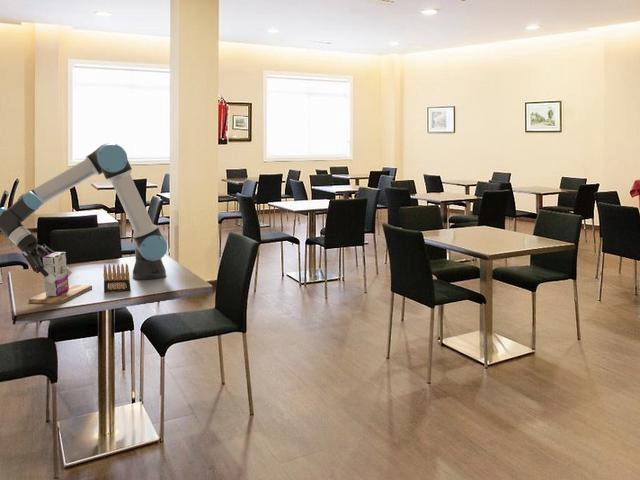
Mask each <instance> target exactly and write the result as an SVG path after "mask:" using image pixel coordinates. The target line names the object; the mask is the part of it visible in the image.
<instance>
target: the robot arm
mask: <svg viewBox="0 0 640 480" xmlns="http://www.w3.org/2000/svg"><path fill="white" fill-rule="evenodd" d="M132 169H133V168H132V166H131V165H130V161H129V160H128V155H127V152H126V150H125V149H124V148H123V147H122V146H121V145H119V144H117V143H110V142H109V143H104V144H102V145H100V146H99V147H98V148H97V149H95V150H94V151H93V152H91V153H90V154H88V155H86V156H85V159H84V160H82V161H81V162H80V161H79V163H76V164H75V165H73V166H72V167H70V168H69V169H66V170H64V171H63V172H61V173H60V174H58V175H55V176H54V177H52V178H50V179H49V180H47V181H45V182H43V183H42V184H39V185H38V186H37V187H34V188H33V189H31V190H29V191H28V192H26V193H22V194H21V195H20V196H19V197H18V199H17V201H15V202H14V203H13V204H12V205H11V206H10V207H9V208H6V207H3V206H2V207H0V231H1V232H2V234H4V235H5V236H6V237H7V238H8V239H9V240H10V241H11V242H12V243H13V244H14V245H15V246H16V247H17V248H18V249H19V250H20V251H21V252H22V253H21V255H22V256H23V257H24V259H25V260H26V261H27V262H28V264H29V266H30V267H31V269H32V270H33V272H35V273H37V274H39V273H40V274H41V275H42V276H43V277H44V276H45V277H46V278H47V279H48V280H49V281H50V282H51V283H54V281H55V280H56V279H57V278H56V277H55V276H54V275H53V274H52V273H51V272H50V271H49V270H48V269H47V268H46V267H44V268H43V261H42V259H41V258H42V257H44V256H47V255H49V254H52V253H54V252H55V251H54V249H51V248H50V247H48V246H47V245H46V244H45V243H43V244H42V245H40V244H39V239H38V238H37V237H36V236H34V234H32V233H31V231H30V230H29V229H28V228H26V227H25V225H24V224H23V222H25V220H27V219H28V218H29V217H31V216H32V215H33V214H34V213H35V212H37V210H39V208H40V207H42V206H43V205H44V204H46V203H48V202H50V201H51V200H53V199H55V198H57V197H58V196H60V195H62V194H64V193H66V192H68V190H70V189H72V188H75V186H76V187H77V186H78V185H80V184H82V183H83V182H84V181H86V180H88V179H90V178H92V177H94V176H95V175H97V176H100V175H101V174H103V175H104V178H105V180H107V181H109V182H111V185H112V186H113V189H114V191H115V193H116V195H117V197H118V199H119V201H120V204H121V206H122V207H123V211H124V212H125V214H126V216H127V217H126V218H128V221H129V223H130V225H131V227H132V230H133V234H132V238H133V240H134V251H135V252H134V253H135V254H134V255H135V261H134V262H135V263H134V267H133V269H132V278H133V279H136V280H155V279H161V278H164V277H166V275H167V270H166V267H165V266H164V264H163V263H164V262H163V260H162V259H163V257H165V255H166V254H167V251H168V242H167V241H166V239H165V238H164V237H163V235H162V232H161V230H160V227H159V226H158V225H157V224H154V223H153V221H152V218H151V217H150V214H149V213H148V211H147V208H146V206H145V204H144V201H143V199H142V197H141V194H140V192H139V190H138V188H137V187H136V184H135V181H134V179H133V177H132V175H131V173H132ZM73 272H74V271H72V269H71V268H70V267H69V266H67V274H68V278H69V277H70V276H71V275H72V274H73Z"/></svg>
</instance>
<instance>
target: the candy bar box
mask: <svg viewBox="0 0 640 480" xmlns="http://www.w3.org/2000/svg"><path fill="white" fill-rule="evenodd" d="M41 258H42V259H41V260H42V265H43V268H44V267H46V268H47V269H48V270H49V271H50V272H51V273H52V274H53V275H54V276H55V277H56V278H57V279H56V280H55V281H54V283H51V282H50V281H49V280H48V279H47V278H46V277H45V276H44V275H43V277H44V288H45V292H46V296H47V297H56V296H59V295H61V294H63V293H64V292H66V291H68V290H69V285H70V284H69V277H68V274H67V267H68V266H67V265H68V264H67V252H66V251H54V253H52V254H49V255H47V256H44V257H41Z"/></svg>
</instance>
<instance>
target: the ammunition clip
mask: <svg viewBox="0 0 640 480" xmlns="http://www.w3.org/2000/svg"><path fill="white" fill-rule="evenodd" d="M107 267H108V268H107ZM130 280H131V279H130V272H129V266H128V263H126V264H125V267H124V264H123V263H122V264H121V266H120V264H119V263H117V265H115V264H114V263H113V264H112V267H111V264H110V263H109V264H108V266H106V264H104V265H103V293H123V292H124V293H125V292H127V293H128V292H131V290H132V289H131V281H130Z"/></svg>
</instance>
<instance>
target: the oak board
mask: <svg viewBox="0 0 640 480" xmlns="http://www.w3.org/2000/svg"><path fill="white" fill-rule="evenodd" d="M68 285H69V290H68V291H66V292H64V293H63V294H61V295H59V296H56V297H47V296H46V291H44V292H42V293H39V294H37V295H34V296H32V297H30V298H28V303H30V304H31V303H33V304H60V305H61V304H64V303H67V302H68V301H71V300H73V299H74V297H75V298H77V297H78V296H81V295H83V294H85V293H87V292H89V291H91V290H92V289H93V285H91V284H89V285H87V284H86V285H85V284H84V285H83V284H68ZM72 298H73V299H72Z"/></svg>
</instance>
